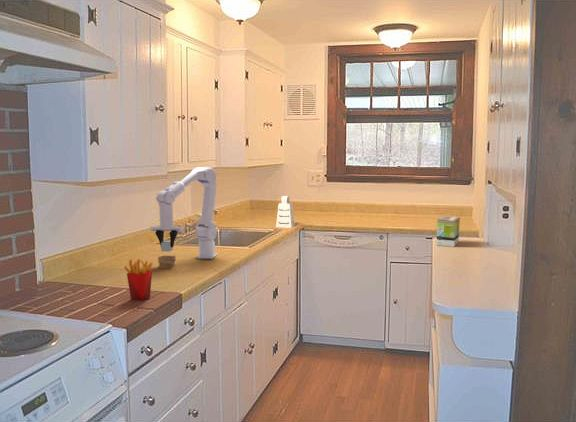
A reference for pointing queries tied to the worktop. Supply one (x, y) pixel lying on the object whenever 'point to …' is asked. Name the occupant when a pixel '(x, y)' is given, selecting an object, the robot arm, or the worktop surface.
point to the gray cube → (166, 246)
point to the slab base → (166, 265)
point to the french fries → (139, 280)
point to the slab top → (166, 259)
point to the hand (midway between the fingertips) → (167, 246)
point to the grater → (285, 213)
